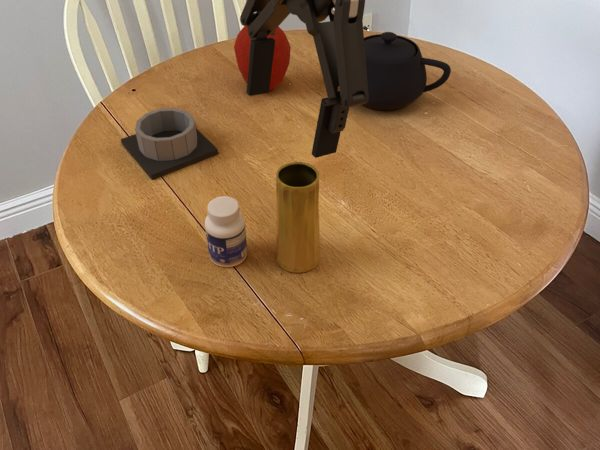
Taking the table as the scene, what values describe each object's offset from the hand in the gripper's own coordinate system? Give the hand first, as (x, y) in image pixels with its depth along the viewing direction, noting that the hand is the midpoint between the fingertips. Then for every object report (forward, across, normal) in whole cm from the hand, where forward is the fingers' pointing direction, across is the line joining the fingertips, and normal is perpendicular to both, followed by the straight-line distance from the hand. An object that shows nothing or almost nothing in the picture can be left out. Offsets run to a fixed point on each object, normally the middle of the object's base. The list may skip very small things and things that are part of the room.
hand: (288, 121), depth 65 cm
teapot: (+17, +25, -40) cm, 50 cm away
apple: (+20, +40, -23) cm, 50 cm away
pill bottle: (+23, +4, +4) cm, 23 cm away
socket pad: (+23, +31, 0) cm, 39 cm away
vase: (+21, -2, -4) cm, 22 cm away
